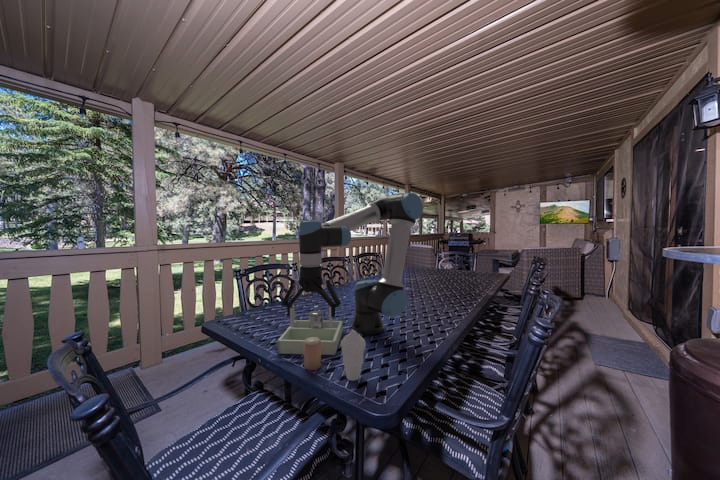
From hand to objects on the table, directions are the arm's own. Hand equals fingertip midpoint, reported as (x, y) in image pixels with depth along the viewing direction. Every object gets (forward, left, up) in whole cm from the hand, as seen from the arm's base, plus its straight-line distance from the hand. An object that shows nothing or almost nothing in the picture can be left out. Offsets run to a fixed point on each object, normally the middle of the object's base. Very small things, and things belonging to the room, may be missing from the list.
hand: (311, 325), depth 95 cm
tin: (+4, -23, -13) cm, 27 cm away
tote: (+4, -17, -14) cm, 23 cm away
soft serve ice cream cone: (-15, +6, -15) cm, 22 cm away
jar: (0, 0, -14) cm, 14 cm away
